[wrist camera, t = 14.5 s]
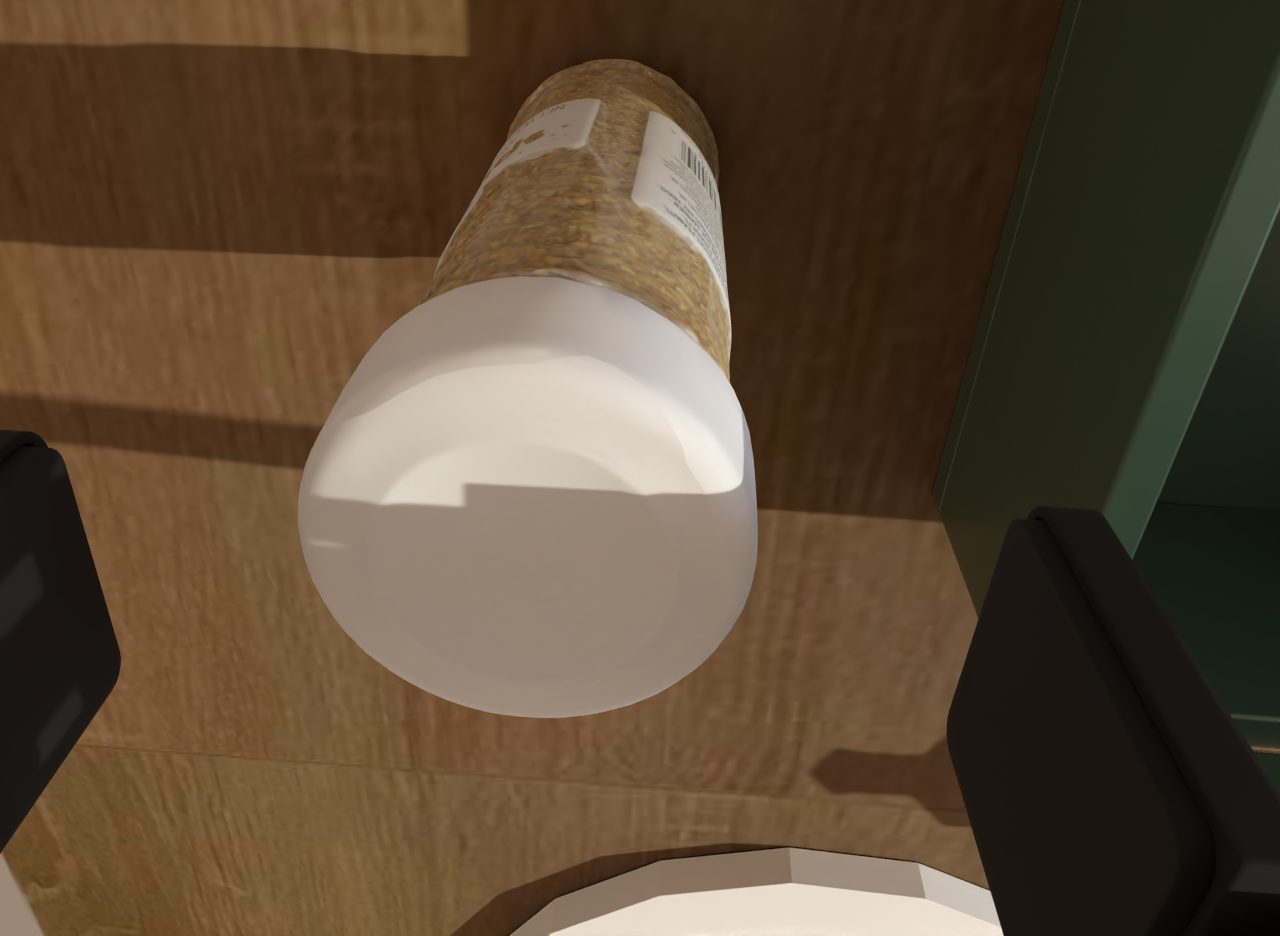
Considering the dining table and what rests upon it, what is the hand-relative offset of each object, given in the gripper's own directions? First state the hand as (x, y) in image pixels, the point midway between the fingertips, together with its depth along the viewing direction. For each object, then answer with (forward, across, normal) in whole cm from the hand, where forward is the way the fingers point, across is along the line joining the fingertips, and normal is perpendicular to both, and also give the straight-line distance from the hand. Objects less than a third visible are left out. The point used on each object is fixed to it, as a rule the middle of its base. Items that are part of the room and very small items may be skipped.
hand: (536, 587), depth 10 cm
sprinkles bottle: (+13, 0, -1) cm, 13 cm away
